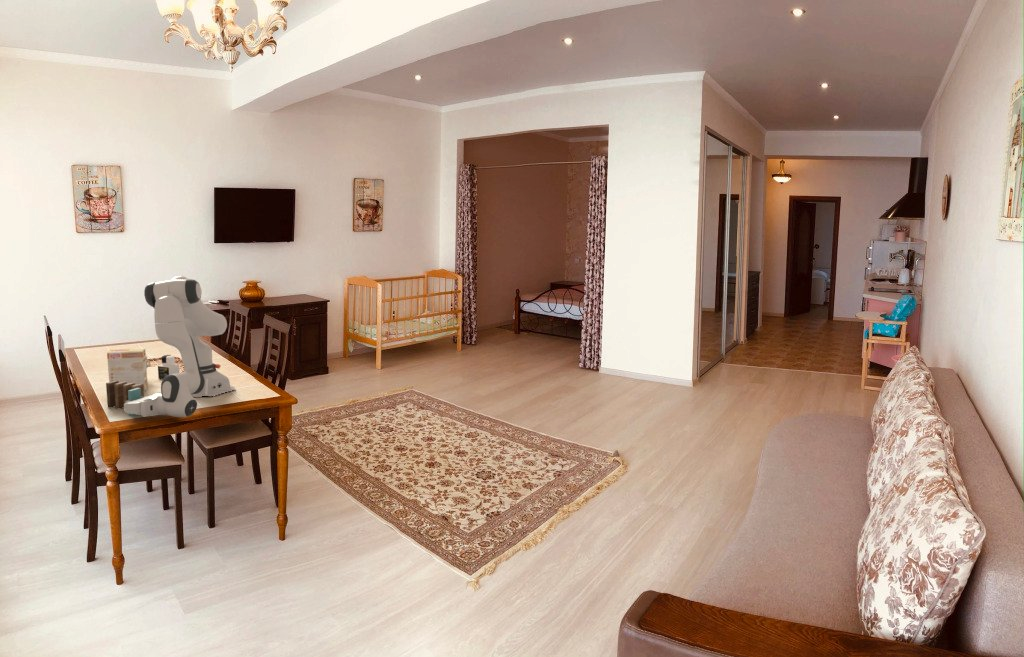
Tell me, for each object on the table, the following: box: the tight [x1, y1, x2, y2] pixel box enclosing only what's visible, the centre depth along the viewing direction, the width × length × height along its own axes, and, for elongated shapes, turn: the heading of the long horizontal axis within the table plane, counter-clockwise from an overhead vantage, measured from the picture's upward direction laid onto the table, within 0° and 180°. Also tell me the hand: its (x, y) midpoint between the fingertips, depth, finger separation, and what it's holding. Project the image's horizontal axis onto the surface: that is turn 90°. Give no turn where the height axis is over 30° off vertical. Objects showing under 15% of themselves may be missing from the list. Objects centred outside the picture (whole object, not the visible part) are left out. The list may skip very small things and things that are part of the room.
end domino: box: [105, 381, 119, 408], centre depth 294 cm, size 2×5×11 cm, turn 164°
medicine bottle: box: [157, 354, 181, 380], centre depth 344 cm, size 7×7×12 cm
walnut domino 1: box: [114, 382, 127, 409], centre depth 292 cm, size 2×5×11 cm, turn 164°
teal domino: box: [128, 388, 141, 417], centre depth 283 cm, size 2×5×11 cm, turn 164°
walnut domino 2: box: [123, 382, 135, 404], centre depth 291 cm, size 2×5×11 cm, turn 164°
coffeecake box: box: [106, 348, 149, 392], centre depth 319 cm, size 15×7×20 cm, turn 108°
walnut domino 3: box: [131, 383, 145, 396], centre depth 290 cm, size 2×5×11 cm, turn 164°
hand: (133, 400), depth 283 cm, fingers closed on teal domino, 5 cm apart
